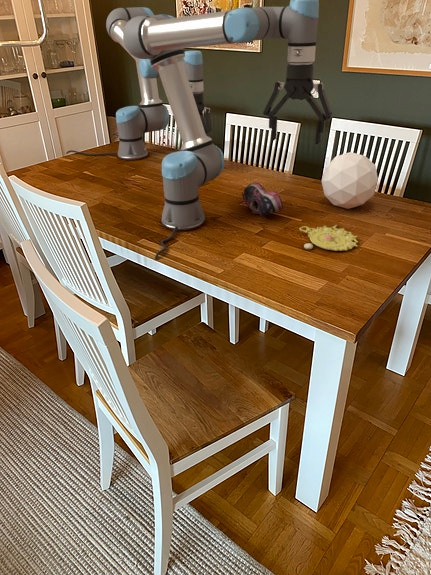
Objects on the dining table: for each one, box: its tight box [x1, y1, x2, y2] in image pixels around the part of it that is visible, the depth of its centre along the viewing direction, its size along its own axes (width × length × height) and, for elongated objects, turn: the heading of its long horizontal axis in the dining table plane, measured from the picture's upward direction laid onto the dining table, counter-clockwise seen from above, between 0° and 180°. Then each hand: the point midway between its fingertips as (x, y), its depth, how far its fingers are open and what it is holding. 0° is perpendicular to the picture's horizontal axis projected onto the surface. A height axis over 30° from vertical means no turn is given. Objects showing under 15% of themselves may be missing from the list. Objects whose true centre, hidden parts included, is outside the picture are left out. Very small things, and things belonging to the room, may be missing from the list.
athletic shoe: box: [238, 182, 284, 217], centre depth 160 cm, size 11×22×12 cm
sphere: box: [320, 151, 379, 210], centre depth 160 cm, size 19×20×20 cm
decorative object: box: [299, 224, 359, 252], centre depth 141 cm, size 21×2×20 cm
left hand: (197, 147), depth 199 cm, fingers closed on block, 6 cm apart
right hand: (295, 141), depth 134 cm, fingers open, 13 cm apart
